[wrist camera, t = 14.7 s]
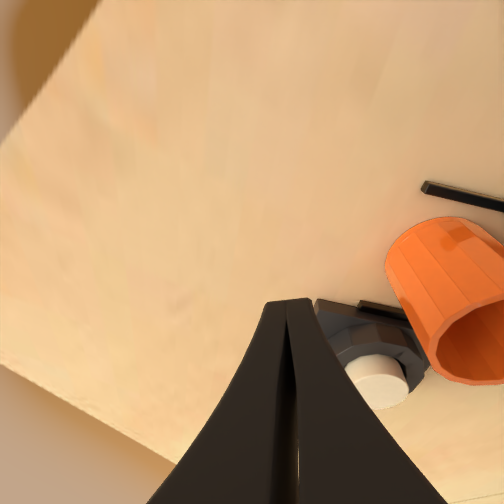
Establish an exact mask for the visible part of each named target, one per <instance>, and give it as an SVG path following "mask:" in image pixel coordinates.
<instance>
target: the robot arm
mask: <svg viewBox="0 0 504 504" xmlns="http://www.w3.org/2000/svg"><path fill="white" fill-rule="evenodd" d="M298 451H299V477H298ZM146 504H448V503H447V502H446V501H445V500H444V499H443V497H442V496H441V495H440V494H439V493H438V492H437V490H436V489H435V488H434V487H433V486H432V484H431V483H430V482H429V481H428V480H427V479H426V477H425V476H424V475H423V474H422V473H421V471H420V470H419V469H418V468H417V467H416V465H415V464H414V463H413V462H412V461H411V459H410V458H409V457H408V456H407V455H406V453H405V452H404V451H403V450H402V449H401V447H400V446H399V445H398V444H397V442H396V441H395V440H394V439H393V437H392V436H391V435H390V433H389V432H388V431H387V429H386V428H385V427H384V426H383V424H382V423H381V422H380V420H379V419H378V418H377V416H376V415H375V414H374V412H373V411H372V409H371V408H370V407H369V405H368V404H367V403H366V401H365V400H364V398H363V397H362V395H361V394H360V392H359V391H358V390H357V388H356V387H355V385H354V384H353V382H352V380H351V379H350V377H349V376H348V374H347V373H346V371H345V370H344V368H343V366H342V365H341V363H340V361H339V360H338V358H337V356H336V354H335V353H334V351H333V349H332V347H331V346H330V344H329V342H328V340H327V338H326V336H325V334H324V332H323V330H322V328H321V326H320V324H319V322H318V319H317V317H316V314H315V311H314V308H313V305H312V300H310V299H309V298H300V299H291V300H281V301H272V302H267V303H266V304H265V306H264V309H263V312H262V315H261V318H260V321H259V323H258V326H257V328H256V331H255V333H254V336H253V338H252V340H251V342H250V344H249V347H248V349H247V351H246V353H245V355H244V357H243V360H242V362H241V364H240V365H239V367H238V369H237V371H236V373H235V375H234V377H233V379H232V380H231V382H230V384H229V386H228V388H227V390H226V391H225V393H224V395H223V397H222V398H221V400H220V402H219V403H218V405H217V407H216V408H215V410H214V411H213V413H212V415H211V416H210V418H209V419H208V421H207V422H206V424H205V425H204V427H203V428H202V430H201V431H200V433H199V434H198V436H197V437H196V439H195V440H194V441H193V443H192V444H191V446H190V447H189V449H188V450H187V451H186V453H185V454H184V456H183V457H182V458H181V460H180V461H179V462H178V464H177V465H176V467H175V468H174V469H173V470H172V472H171V473H170V474H169V476H168V477H167V478H166V479H165V481H164V482H163V483H162V484H161V486H160V487H159V488H158V489H157V491H156V492H155V493H154V494H153V496H152V497H151V498H150V499H149V501H148V502H147V503H146Z"/></svg>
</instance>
